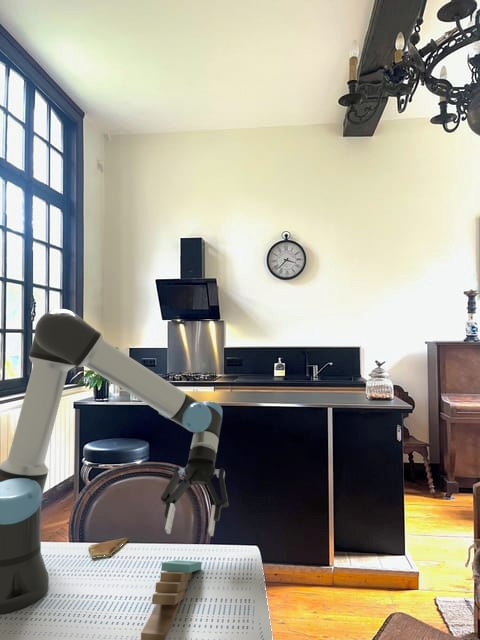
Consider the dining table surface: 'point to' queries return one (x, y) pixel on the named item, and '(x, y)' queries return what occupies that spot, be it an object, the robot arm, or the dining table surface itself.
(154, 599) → the domino
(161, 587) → the domino
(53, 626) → the dining table surface
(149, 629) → the domino
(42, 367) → the robot arm
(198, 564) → the domino
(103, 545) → the shard
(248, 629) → the dining table surface
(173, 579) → the domino
